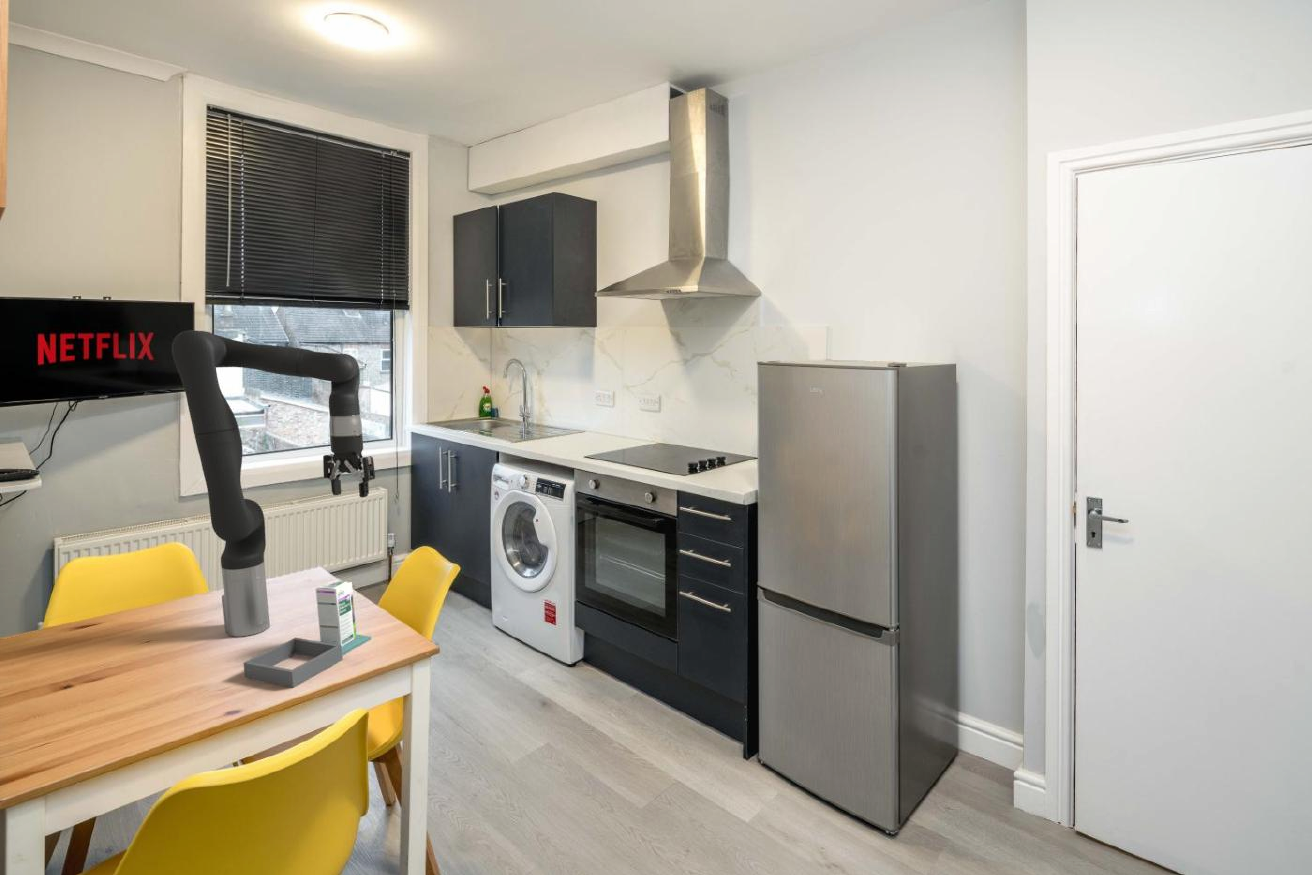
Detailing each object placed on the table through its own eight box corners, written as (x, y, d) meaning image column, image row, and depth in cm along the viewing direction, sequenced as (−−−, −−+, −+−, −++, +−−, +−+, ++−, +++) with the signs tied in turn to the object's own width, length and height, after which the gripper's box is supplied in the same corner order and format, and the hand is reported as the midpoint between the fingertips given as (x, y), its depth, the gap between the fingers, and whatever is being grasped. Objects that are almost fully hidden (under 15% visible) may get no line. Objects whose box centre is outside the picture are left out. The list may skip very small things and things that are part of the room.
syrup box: (341, 648, 161) (337, 588, 159) (319, 646, 162) (315, 587, 160) (357, 638, 166) (353, 580, 164) (335, 636, 167) (331, 579, 166)
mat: (306, 650, 161) (306, 648, 161) (339, 633, 170) (338, 631, 170) (340, 656, 158) (340, 654, 158) (371, 639, 167) (371, 636, 167)
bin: (244, 678, 148) (243, 662, 147) (296, 651, 160) (295, 637, 160) (293, 687, 143) (292, 671, 143) (342, 659, 156) (341, 645, 155)
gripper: (312, 434, 172) (317, 497, 174) (357, 435, 167) (362, 500, 169) (335, 430, 179) (339, 491, 181) (379, 432, 174) (383, 494, 176)
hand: (350, 495), depth 175 cm, fingers open, 8 cm apart
